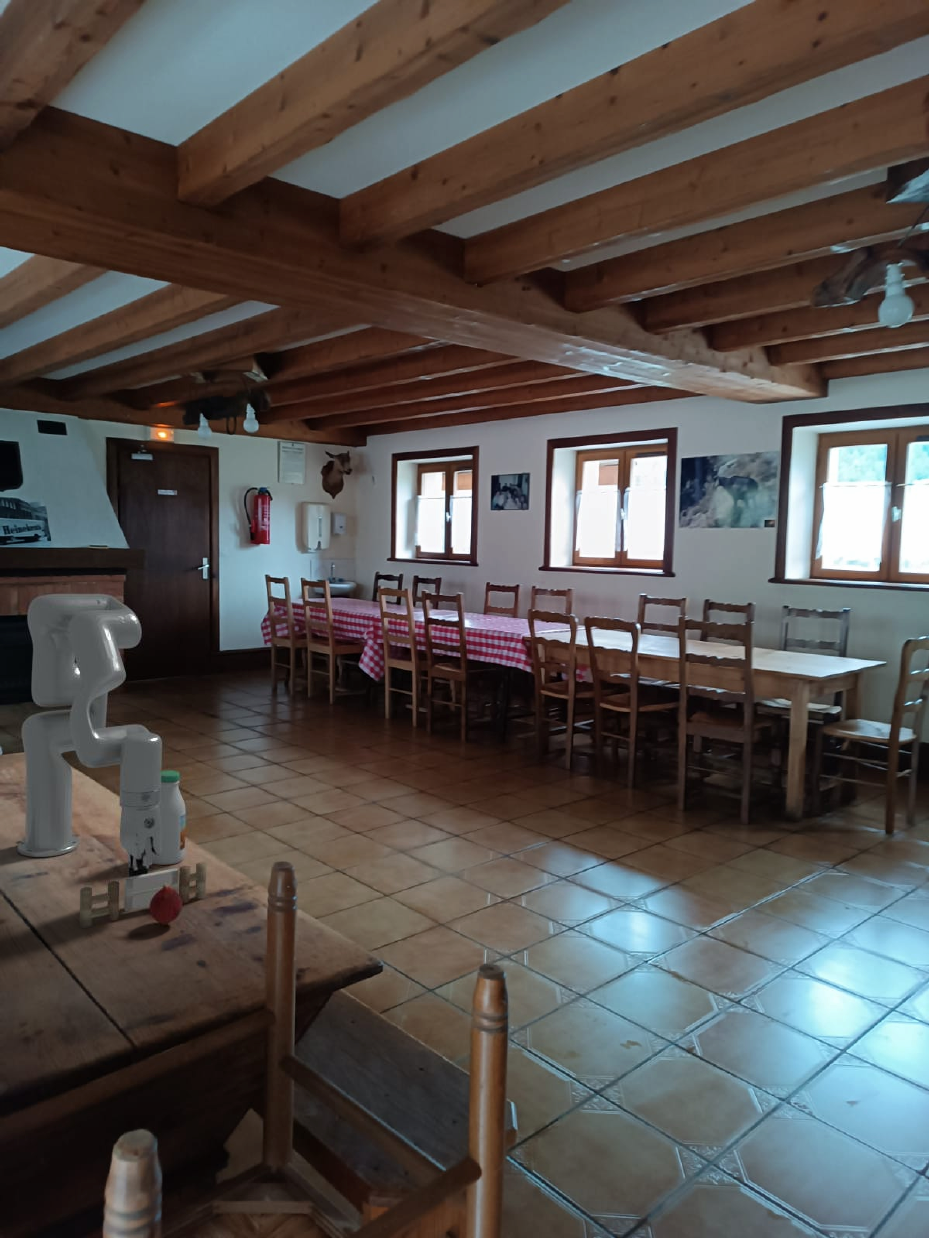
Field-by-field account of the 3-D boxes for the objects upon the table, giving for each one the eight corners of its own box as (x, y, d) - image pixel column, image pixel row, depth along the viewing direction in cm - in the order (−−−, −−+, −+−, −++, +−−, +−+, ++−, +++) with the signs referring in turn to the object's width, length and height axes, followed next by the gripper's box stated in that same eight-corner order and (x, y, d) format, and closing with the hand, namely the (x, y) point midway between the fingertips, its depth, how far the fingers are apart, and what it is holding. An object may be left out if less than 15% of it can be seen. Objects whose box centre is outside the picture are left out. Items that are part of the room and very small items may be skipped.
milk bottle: (173, 867, 188) (175, 779, 186) (141, 863, 189) (143, 775, 188) (190, 855, 195) (193, 770, 194) (160, 851, 197) (162, 766, 195)
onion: (188, 921, 163) (189, 881, 162) (168, 934, 157) (169, 892, 157) (162, 915, 165) (163, 875, 164) (142, 927, 159) (143, 886, 158)
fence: (78, 924, 159) (78, 888, 158) (202, 894, 175) (203, 861, 175) (81, 928, 157) (82, 892, 157) (207, 897, 174) (208, 864, 173)
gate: (175, 897, 171) (176, 868, 170) (177, 900, 170) (178, 870, 169) (124, 908, 165) (124, 877, 164) (125, 911, 164) (126, 880, 163)
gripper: (174, 803, 164) (171, 895, 165) (144, 784, 175) (142, 870, 176) (135, 810, 159) (133, 905, 160) (107, 789, 170) (104, 878, 171)
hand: (137, 886), depth 168 cm, fingers closed
